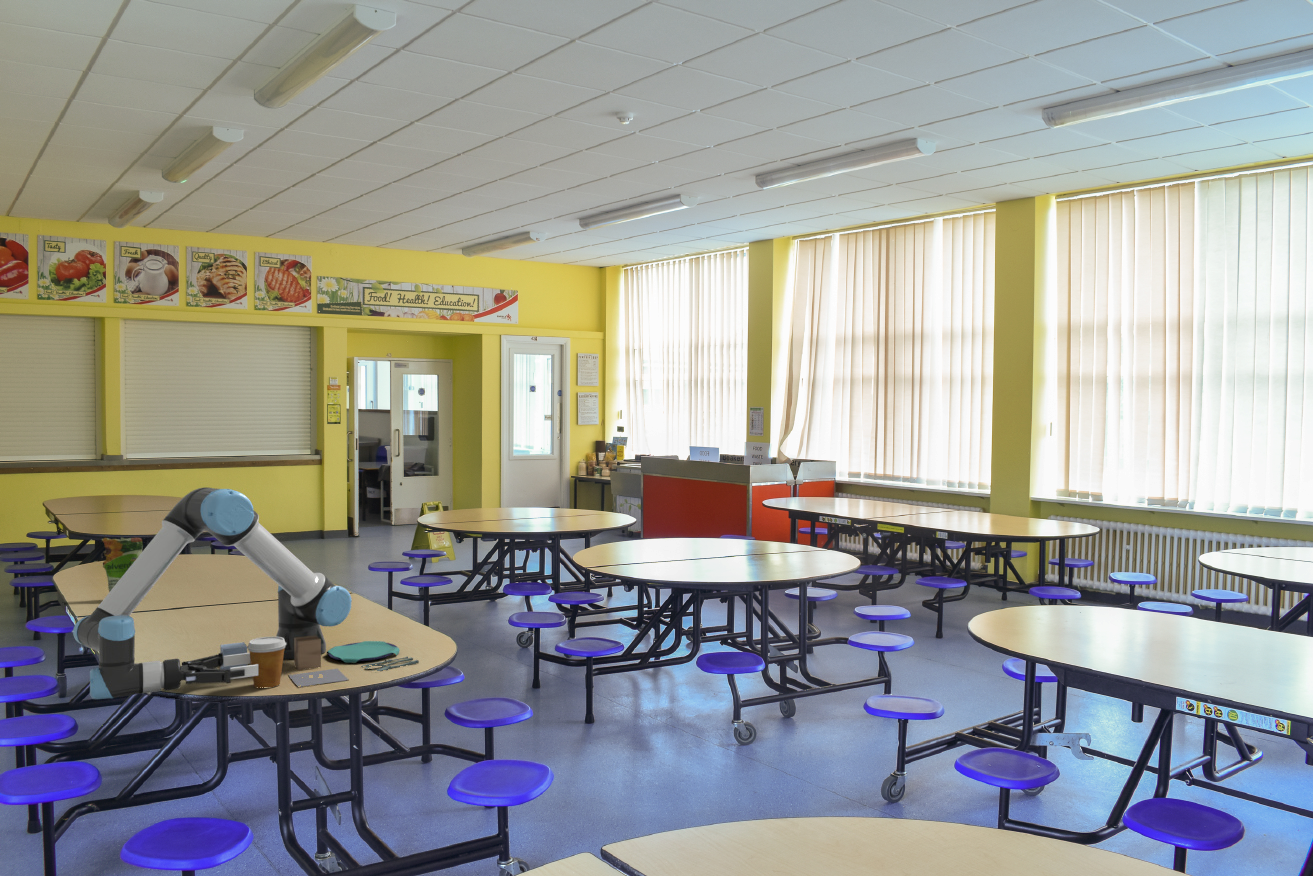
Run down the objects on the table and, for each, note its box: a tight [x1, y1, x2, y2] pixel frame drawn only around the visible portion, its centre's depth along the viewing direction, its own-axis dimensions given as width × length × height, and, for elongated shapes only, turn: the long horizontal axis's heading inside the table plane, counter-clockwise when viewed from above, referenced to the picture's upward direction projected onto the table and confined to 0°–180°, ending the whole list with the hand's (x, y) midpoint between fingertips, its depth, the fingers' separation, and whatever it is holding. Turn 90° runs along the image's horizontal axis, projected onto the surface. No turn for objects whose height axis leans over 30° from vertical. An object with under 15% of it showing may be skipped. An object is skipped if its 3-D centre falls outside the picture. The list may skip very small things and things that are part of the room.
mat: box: [288, 668, 349, 688], centre depth 248 cm, size 13×13×1 cm
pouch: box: [101, 536, 144, 593], centre depth 352 cm, size 11×12×25 cm
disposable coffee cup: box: [246, 636, 286, 689], centre depth 241 cm, size 10×10×12 cm
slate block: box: [219, 641, 248, 669], centre depth 252 cm, size 6×6×8 cm
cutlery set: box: [326, 640, 420, 672], centre depth 269 cm, size 20×30×2 cm, turn 42°
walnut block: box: [294, 635, 322, 671], centre depth 260 cm, size 6×6×8 cm
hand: (254, 663), depth 239 cm, fingers open, 13 cm apart
